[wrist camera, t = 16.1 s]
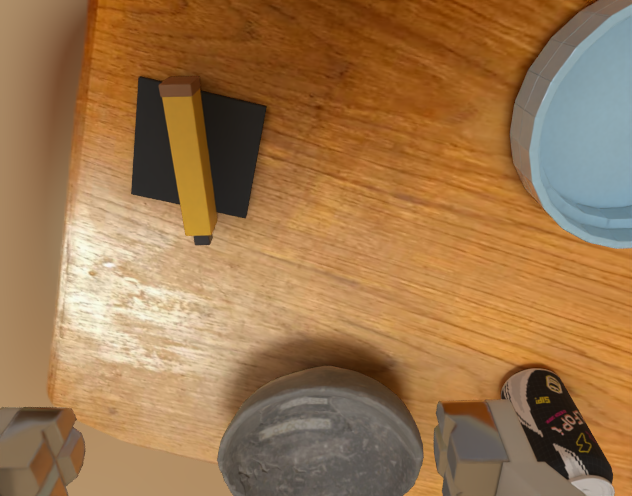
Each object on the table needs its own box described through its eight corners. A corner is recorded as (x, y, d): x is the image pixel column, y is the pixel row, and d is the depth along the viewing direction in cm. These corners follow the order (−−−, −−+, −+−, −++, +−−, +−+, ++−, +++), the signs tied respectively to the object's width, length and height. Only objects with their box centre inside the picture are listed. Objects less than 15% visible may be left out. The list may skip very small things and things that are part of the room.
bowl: (407, 323, 46) (423, 387, 39) (414, 455, 54) (428, 527, 47) (212, 341, 47) (193, 407, 40) (248, 468, 56) (237, 540, 49)
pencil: (169, 76, 35) (158, 84, 33) (199, 75, 35) (190, 83, 33) (194, 234, 41) (186, 250, 39) (220, 234, 41) (214, 250, 39)
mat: (140, 76, 36) (138, 77, 35) (266, 105, 37) (266, 107, 36) (132, 192, 40) (131, 194, 40) (246, 216, 41) (245, 218, 41)
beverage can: (489, 376, 49) (536, 489, 38) (548, 354, 47) (613, 464, 37) (509, 414, 51) (558, 529, 41) (566, 393, 50) (631, 508, 39)
